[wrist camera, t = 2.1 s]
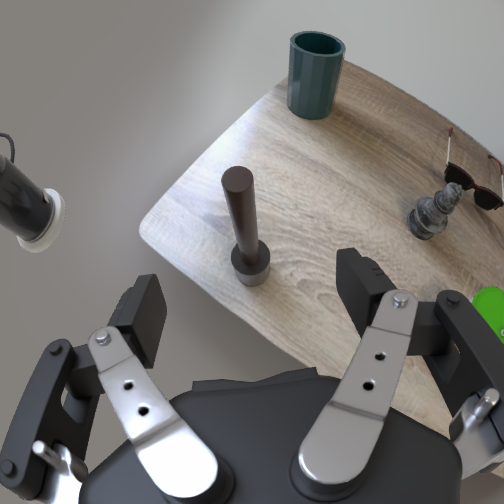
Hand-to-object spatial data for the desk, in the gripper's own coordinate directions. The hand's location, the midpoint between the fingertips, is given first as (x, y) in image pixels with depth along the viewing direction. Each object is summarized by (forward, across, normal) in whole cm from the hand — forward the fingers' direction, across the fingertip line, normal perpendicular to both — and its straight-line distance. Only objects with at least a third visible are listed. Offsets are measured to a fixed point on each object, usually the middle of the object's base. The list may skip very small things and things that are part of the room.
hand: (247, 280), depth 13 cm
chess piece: (+25, -27, +10) cm, 38 cm away
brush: (+23, 0, +13) cm, 26 cm away
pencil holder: (+43, -14, -8) cm, 46 cm away
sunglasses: (+32, -44, +3) cm, 54 cm away
